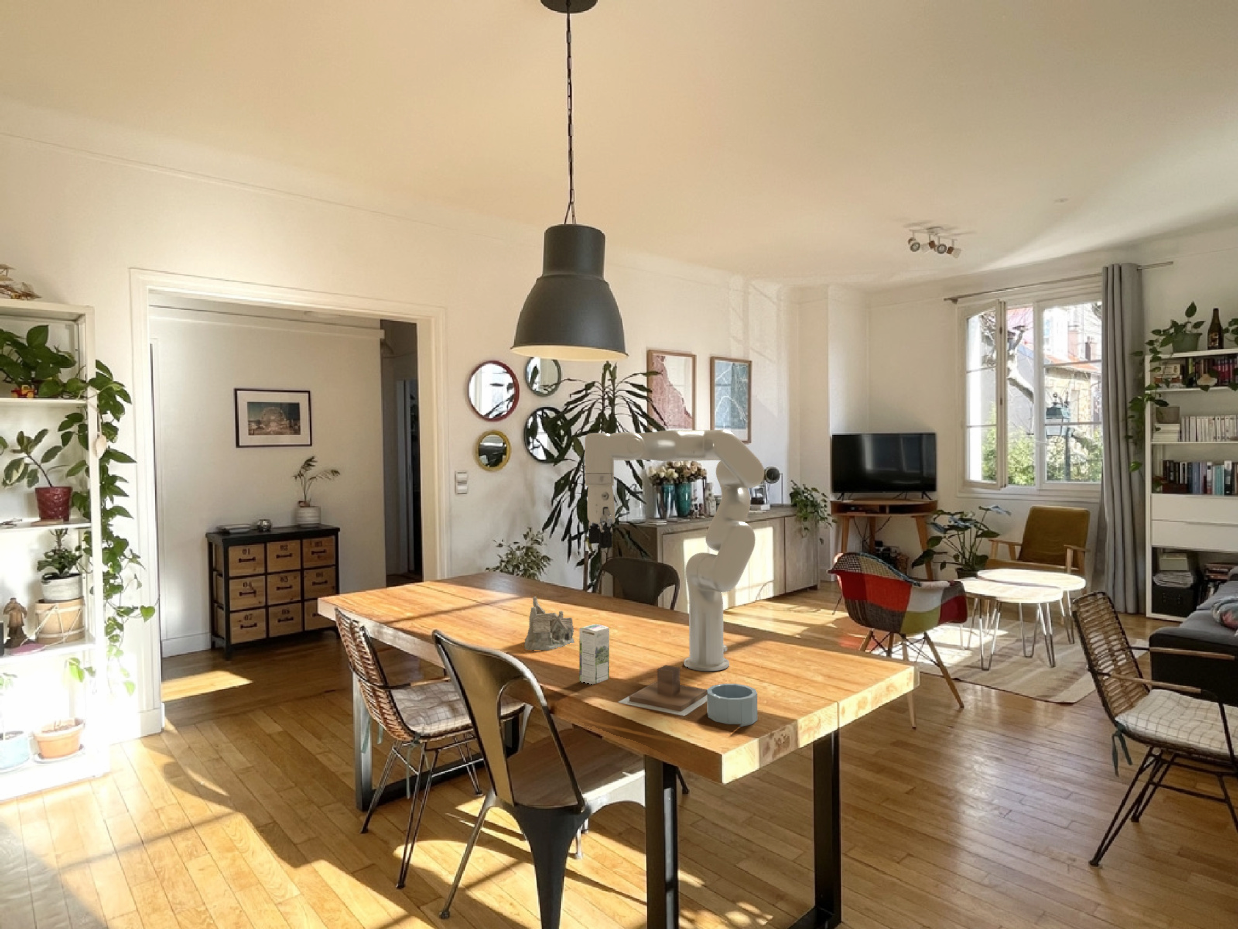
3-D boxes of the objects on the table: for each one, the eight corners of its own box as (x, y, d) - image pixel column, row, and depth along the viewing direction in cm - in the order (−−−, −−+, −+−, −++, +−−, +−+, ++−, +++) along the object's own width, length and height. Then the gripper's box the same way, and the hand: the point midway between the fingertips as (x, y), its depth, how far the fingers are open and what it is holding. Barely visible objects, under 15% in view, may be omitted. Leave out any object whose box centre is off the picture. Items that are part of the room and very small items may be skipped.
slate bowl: (720, 706, 178) (720, 681, 178) (764, 714, 172) (764, 688, 172) (699, 720, 169) (699, 694, 169) (745, 730, 163) (744, 702, 163)
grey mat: (655, 684, 195) (655, 682, 195) (718, 696, 186) (718, 693, 186) (617, 704, 180) (617, 702, 180) (684, 718, 170) (684, 715, 170)
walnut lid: (658, 685, 193) (657, 657, 192) (707, 694, 185) (707, 665, 185) (629, 701, 181) (628, 671, 181) (680, 711, 173) (680, 680, 173)
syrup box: (593, 676, 202) (592, 623, 202) (610, 680, 199) (609, 626, 198) (579, 682, 198) (578, 627, 198) (595, 686, 194) (595, 630, 194)
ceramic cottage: (520, 651, 229) (522, 601, 229) (528, 639, 245) (530, 593, 245) (571, 654, 228) (573, 604, 229) (575, 642, 245) (578, 596, 245)
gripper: (623, 481, 190) (624, 548, 190) (603, 478, 206) (603, 541, 206) (595, 481, 187) (596, 550, 188) (576, 479, 204) (577, 542, 204)
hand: (600, 545), depth 197 cm, fingers open, 9 cm apart
